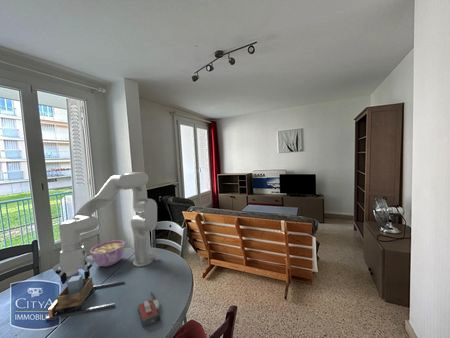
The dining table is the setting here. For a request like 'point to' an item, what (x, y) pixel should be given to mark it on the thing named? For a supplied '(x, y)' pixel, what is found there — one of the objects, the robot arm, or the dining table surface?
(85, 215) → the robot arm
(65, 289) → the small wooden crate
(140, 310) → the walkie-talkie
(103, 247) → the bowl of food
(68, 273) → the pill bottle
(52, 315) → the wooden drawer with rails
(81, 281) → the block
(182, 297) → the dining table surface
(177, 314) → the dining table surface
